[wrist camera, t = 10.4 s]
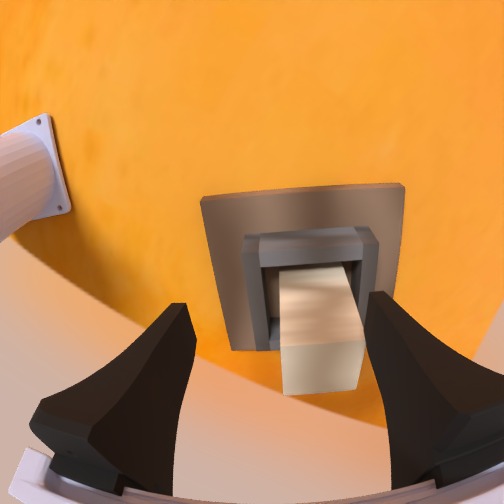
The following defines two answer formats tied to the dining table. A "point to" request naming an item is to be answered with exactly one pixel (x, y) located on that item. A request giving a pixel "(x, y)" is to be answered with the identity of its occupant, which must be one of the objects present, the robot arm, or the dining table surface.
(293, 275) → the square peg
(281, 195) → the socket block
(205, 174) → the dining table surface
